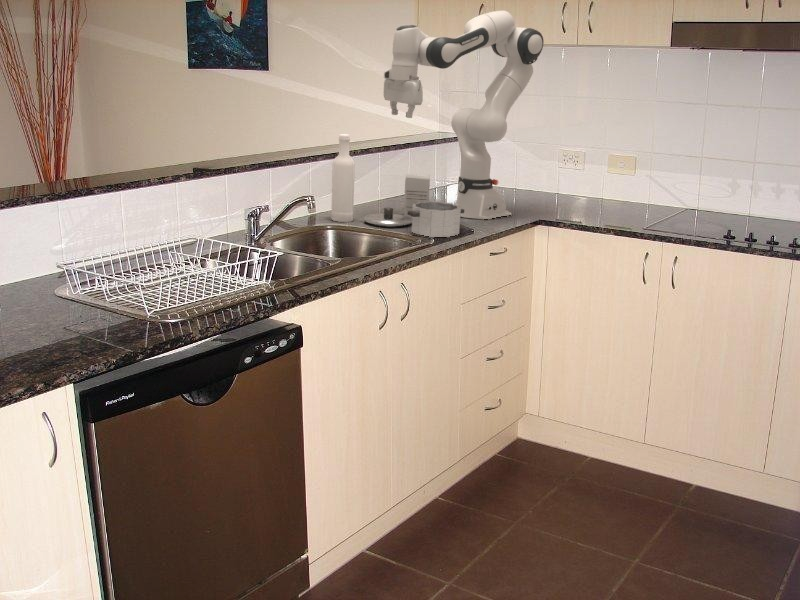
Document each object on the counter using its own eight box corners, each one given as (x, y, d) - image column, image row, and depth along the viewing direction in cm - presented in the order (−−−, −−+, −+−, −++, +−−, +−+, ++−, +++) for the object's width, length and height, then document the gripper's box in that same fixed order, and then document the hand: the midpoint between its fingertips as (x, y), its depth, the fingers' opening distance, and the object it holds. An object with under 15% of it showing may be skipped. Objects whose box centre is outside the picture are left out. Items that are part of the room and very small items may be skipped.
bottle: (351, 217, 317) (353, 133, 308) (355, 222, 309) (358, 136, 300) (329, 217, 315) (331, 132, 306) (332, 222, 307) (335, 135, 299)
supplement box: (403, 213, 329) (405, 173, 324) (427, 214, 329) (430, 174, 324) (403, 218, 320) (405, 177, 316) (427, 219, 320) (430, 178, 316)
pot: (446, 225, 312) (448, 200, 309) (473, 235, 299) (475, 208, 296) (397, 229, 301) (398, 203, 299) (422, 239, 288) (424, 212, 286)
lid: (396, 217, 322) (396, 202, 320) (421, 227, 308) (422, 211, 306) (355, 220, 313) (355, 205, 312) (379, 230, 299) (379, 214, 298)
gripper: (428, 77, 292) (425, 119, 296) (396, 73, 309) (394, 113, 313) (412, 76, 289) (409, 119, 293) (381, 72, 305) (379, 113, 309)
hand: (401, 116), depth 303 cm, fingers open, 8 cm apart
